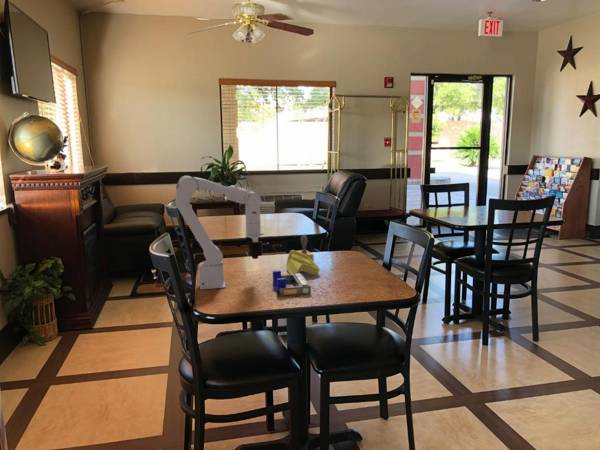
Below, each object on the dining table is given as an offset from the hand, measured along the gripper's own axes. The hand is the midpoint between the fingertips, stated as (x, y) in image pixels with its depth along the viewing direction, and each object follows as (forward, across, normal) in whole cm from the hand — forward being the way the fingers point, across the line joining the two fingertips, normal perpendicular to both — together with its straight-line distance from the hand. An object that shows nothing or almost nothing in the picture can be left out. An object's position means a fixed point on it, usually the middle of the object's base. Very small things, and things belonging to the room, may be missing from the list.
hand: (254, 256), depth 192 cm
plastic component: (+11, +11, -22) cm, 27 cm away
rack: (+10, -12, -12) cm, 20 cm away
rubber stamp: (+11, +29, -26) cm, 40 cm away
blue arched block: (+11, -13, -9) cm, 19 cm away
